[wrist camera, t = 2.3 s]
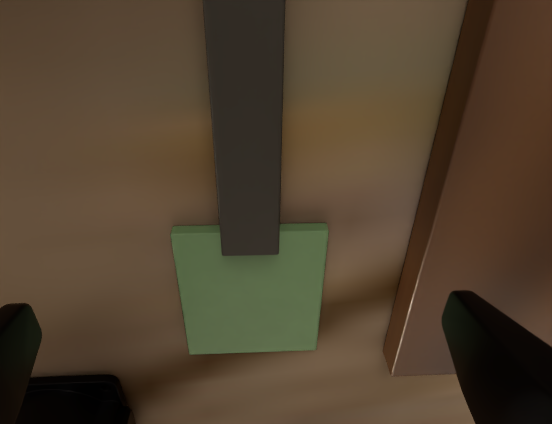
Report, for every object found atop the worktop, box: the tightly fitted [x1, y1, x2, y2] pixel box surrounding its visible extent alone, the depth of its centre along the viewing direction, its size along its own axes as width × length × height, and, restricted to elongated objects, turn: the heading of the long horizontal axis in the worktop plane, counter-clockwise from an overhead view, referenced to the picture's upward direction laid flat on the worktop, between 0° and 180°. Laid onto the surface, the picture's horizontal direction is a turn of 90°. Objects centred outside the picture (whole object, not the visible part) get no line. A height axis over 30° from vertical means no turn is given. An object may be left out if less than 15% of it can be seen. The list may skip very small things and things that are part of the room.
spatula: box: [170, 0, 329, 355], centre depth 14 cm, size 17×6×2 cm, turn 179°
